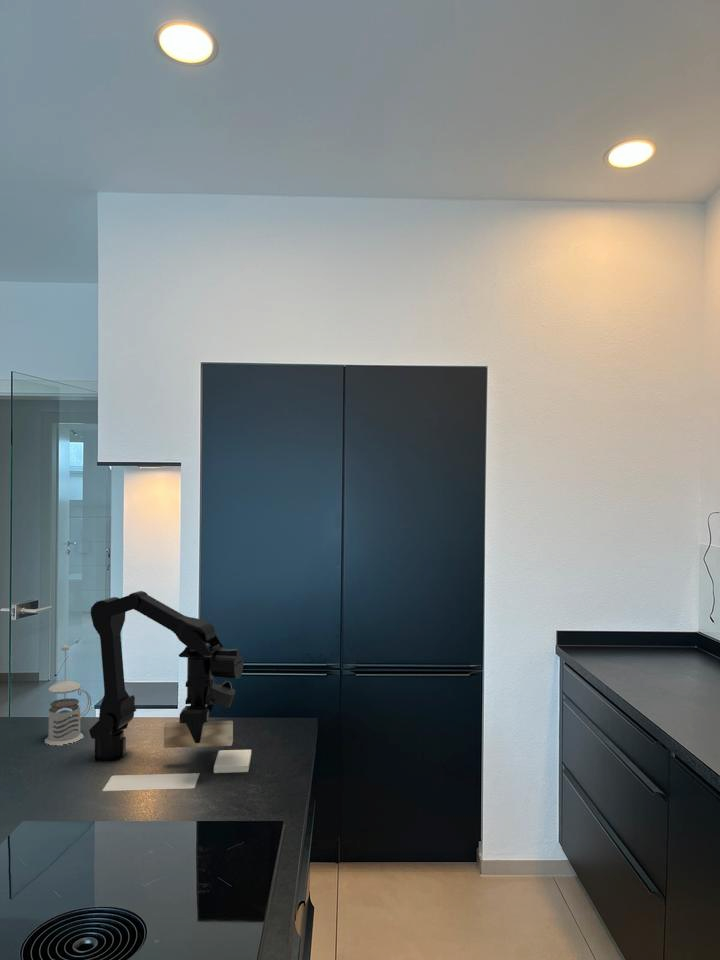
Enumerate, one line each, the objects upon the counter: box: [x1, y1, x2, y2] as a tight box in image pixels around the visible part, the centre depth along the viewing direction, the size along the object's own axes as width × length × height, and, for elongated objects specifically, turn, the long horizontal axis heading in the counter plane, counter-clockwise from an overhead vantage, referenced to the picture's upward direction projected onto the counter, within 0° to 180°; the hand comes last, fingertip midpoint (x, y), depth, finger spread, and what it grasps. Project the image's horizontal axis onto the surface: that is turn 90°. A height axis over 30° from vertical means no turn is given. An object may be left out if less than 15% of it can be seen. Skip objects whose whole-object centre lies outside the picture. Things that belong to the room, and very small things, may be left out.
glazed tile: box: [213, 749, 252, 774], centre depth 165 cm, size 2×10×8 cm
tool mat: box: [101, 772, 200, 792], centre depth 154 cm, size 20×8×1 cm, turn 95°
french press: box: [43, 644, 92, 746], centre depth 183 cm, size 10×12×25 cm
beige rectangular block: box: [163, 720, 234, 749], centre depth 164 cm, size 16×3×5 cm, turn 95°
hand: (198, 740), depth 164 cm, fingers closed on beige rectangular block, 3 cm apart
